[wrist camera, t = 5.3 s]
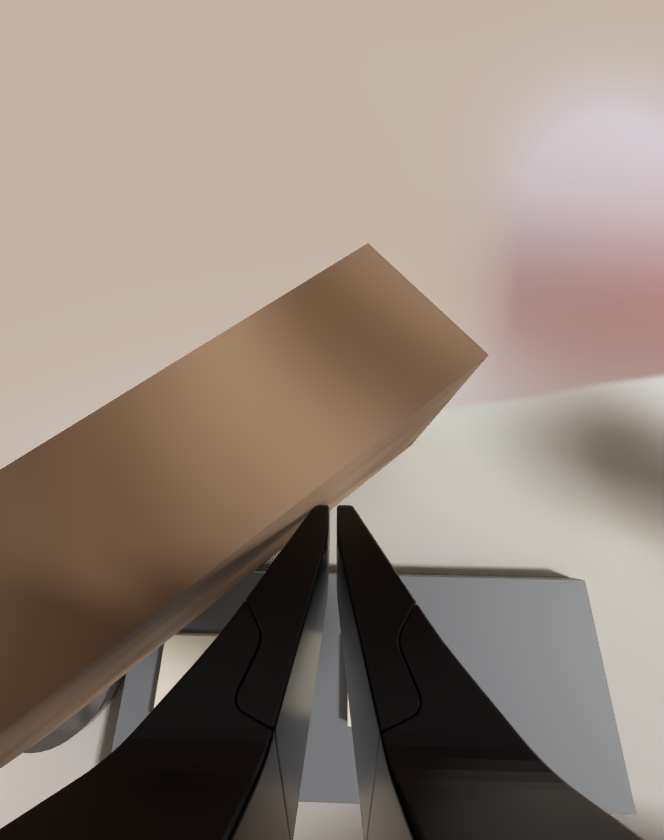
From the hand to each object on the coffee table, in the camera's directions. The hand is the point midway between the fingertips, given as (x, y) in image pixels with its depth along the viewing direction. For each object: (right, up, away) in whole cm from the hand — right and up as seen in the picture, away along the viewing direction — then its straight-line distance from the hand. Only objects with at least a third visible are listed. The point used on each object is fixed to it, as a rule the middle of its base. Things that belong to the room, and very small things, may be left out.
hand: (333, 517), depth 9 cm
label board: (+1, -7, +4) cm, 8 cm away
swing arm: (-5, -2, +4) cm, 7 cm away
